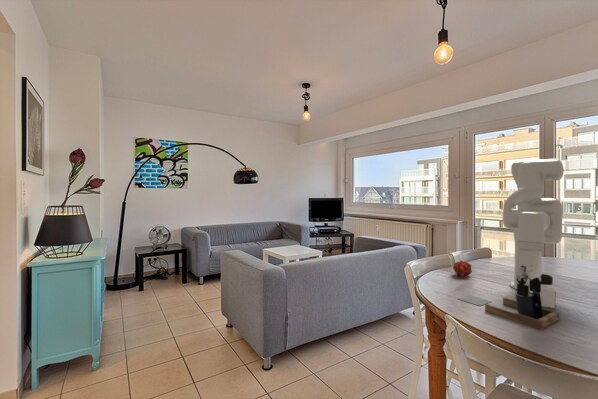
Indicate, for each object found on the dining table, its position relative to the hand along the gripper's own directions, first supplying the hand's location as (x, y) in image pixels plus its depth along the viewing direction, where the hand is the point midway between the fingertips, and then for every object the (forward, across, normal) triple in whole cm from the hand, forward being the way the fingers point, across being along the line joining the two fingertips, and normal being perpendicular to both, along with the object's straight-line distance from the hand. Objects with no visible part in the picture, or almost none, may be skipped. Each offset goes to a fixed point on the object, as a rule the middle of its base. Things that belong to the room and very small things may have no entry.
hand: (528, 293), depth 105 cm
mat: (+9, -1, -19) cm, 21 cm away
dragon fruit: (+8, -32, -42) cm, 54 cm away
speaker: (+9, -1, 0) cm, 9 cm away
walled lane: (+9, -1, -3) cm, 9 cm away
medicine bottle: (+8, -21, -3) cm, 23 cm away
